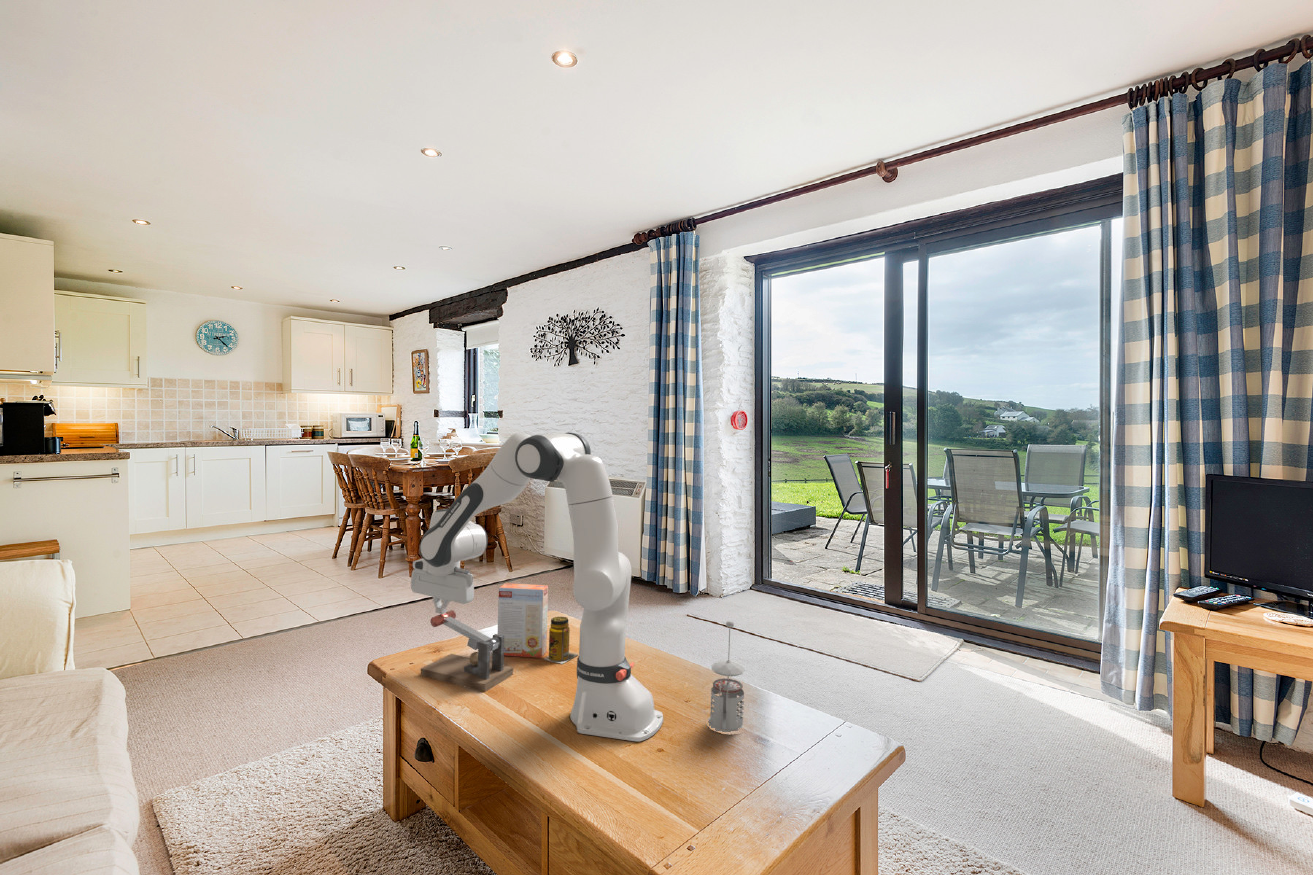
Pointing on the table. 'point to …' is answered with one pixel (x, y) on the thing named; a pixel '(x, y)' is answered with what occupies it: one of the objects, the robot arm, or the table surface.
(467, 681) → the tabletop arbor press
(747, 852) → the table surface
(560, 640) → the condiment
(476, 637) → the lever
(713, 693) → the french press
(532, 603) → the cracker box
